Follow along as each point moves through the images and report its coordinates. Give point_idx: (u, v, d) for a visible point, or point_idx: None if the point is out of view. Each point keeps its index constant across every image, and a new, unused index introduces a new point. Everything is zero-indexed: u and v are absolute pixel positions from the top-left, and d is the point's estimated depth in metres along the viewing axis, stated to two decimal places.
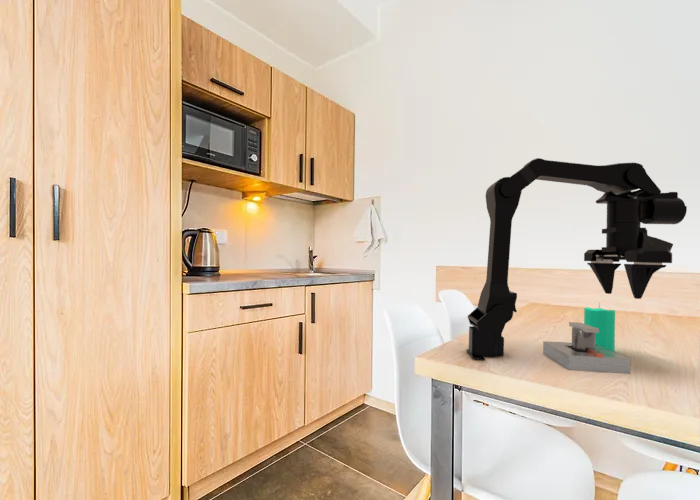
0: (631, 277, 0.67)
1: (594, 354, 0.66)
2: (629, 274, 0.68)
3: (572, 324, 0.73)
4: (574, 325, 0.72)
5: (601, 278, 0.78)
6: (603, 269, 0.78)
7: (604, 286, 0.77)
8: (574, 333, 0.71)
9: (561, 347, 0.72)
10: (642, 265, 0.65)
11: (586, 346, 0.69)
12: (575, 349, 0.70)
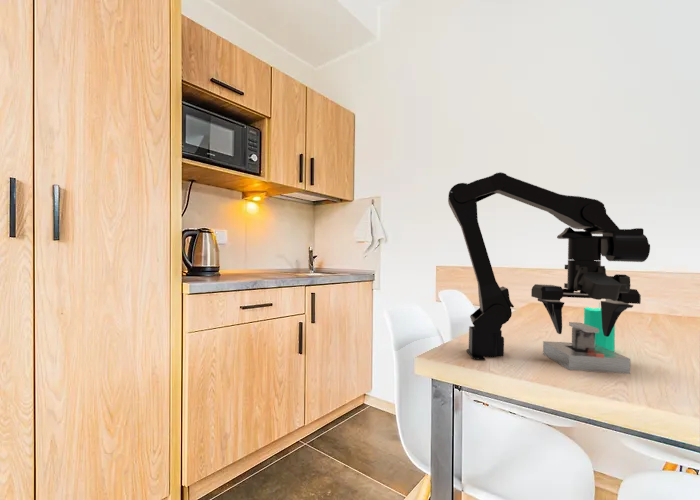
0: None
1: (594, 354, 0.66)
2: None
3: (572, 324, 0.73)
4: (574, 325, 0.72)
5: (602, 318, 0.72)
6: (605, 309, 0.71)
7: (602, 327, 0.71)
8: (574, 333, 0.71)
9: (561, 347, 0.72)
10: (539, 300, 0.73)
11: (586, 346, 0.69)
12: (575, 349, 0.70)
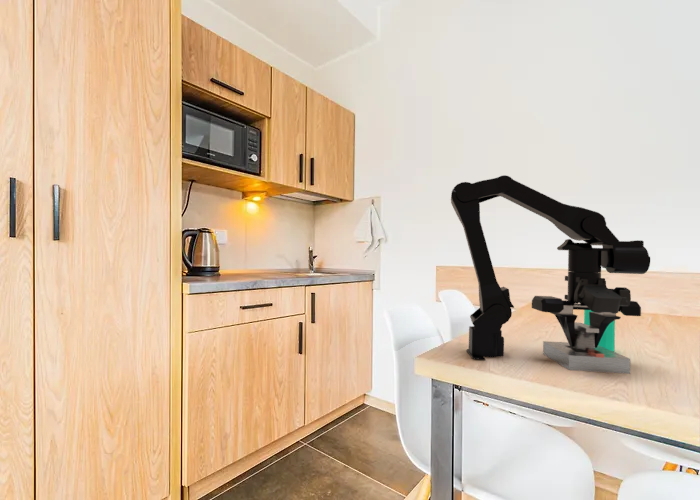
0: None
1: (594, 354, 0.66)
2: None
3: None
4: None
5: None
6: (593, 320, 0.71)
7: None
8: None
9: (561, 347, 0.72)
10: (551, 312, 0.73)
11: (586, 346, 0.69)
12: (575, 349, 0.70)
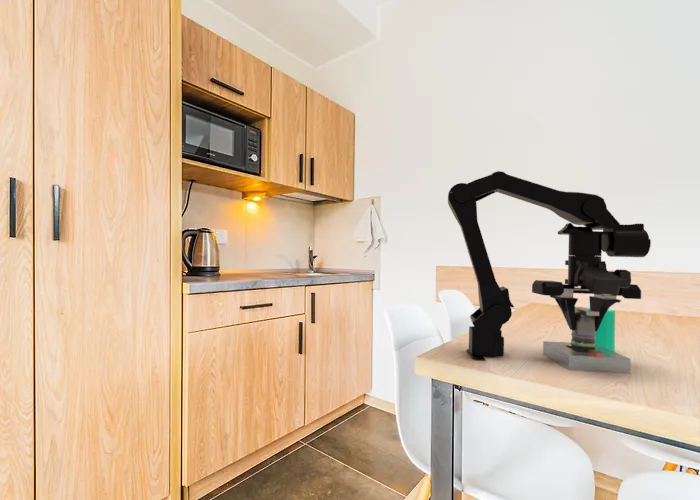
0: None
1: (594, 354, 0.66)
2: None
3: None
4: None
5: None
6: (594, 304, 0.71)
7: None
8: None
9: (561, 347, 0.72)
10: (551, 296, 0.73)
11: (586, 329, 0.69)
12: (575, 333, 0.70)
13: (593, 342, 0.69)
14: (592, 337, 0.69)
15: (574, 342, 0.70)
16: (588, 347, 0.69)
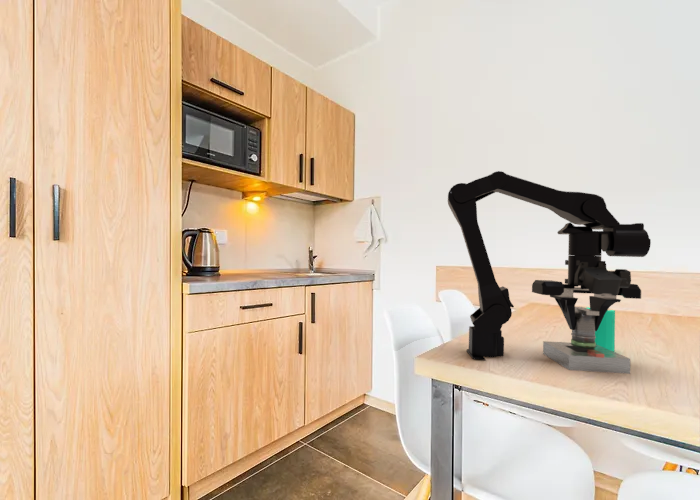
0: None
1: (594, 354, 0.66)
2: None
3: None
4: None
5: None
6: (594, 303, 0.71)
7: None
8: None
9: (561, 347, 0.72)
10: (551, 296, 0.73)
11: (586, 329, 0.69)
12: (575, 332, 0.70)
13: (593, 342, 0.69)
14: (592, 337, 0.69)
15: (574, 342, 0.70)
16: (588, 347, 0.69)
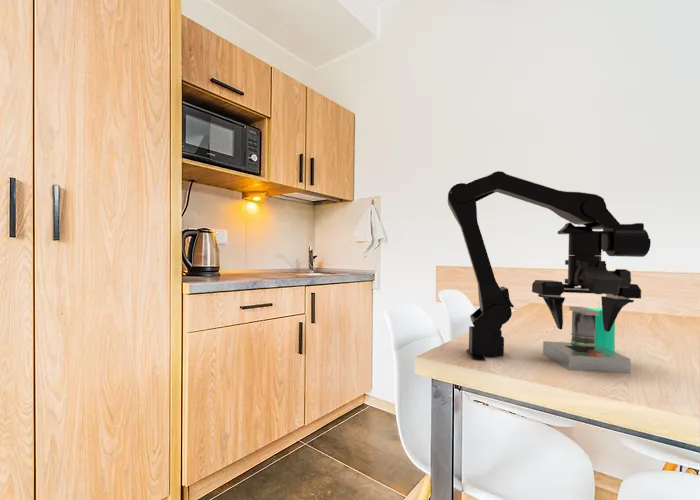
0: None
1: (594, 354, 0.66)
2: None
3: (572, 308, 0.73)
4: (574, 309, 0.72)
5: (603, 313, 0.72)
6: (606, 304, 0.71)
7: (603, 322, 0.71)
8: (574, 316, 0.71)
9: (561, 347, 0.72)
10: (540, 295, 0.73)
11: (586, 329, 0.69)
12: (575, 332, 0.70)
13: (593, 342, 0.69)
14: (592, 337, 0.69)
15: (574, 342, 0.70)
16: (588, 347, 0.69)
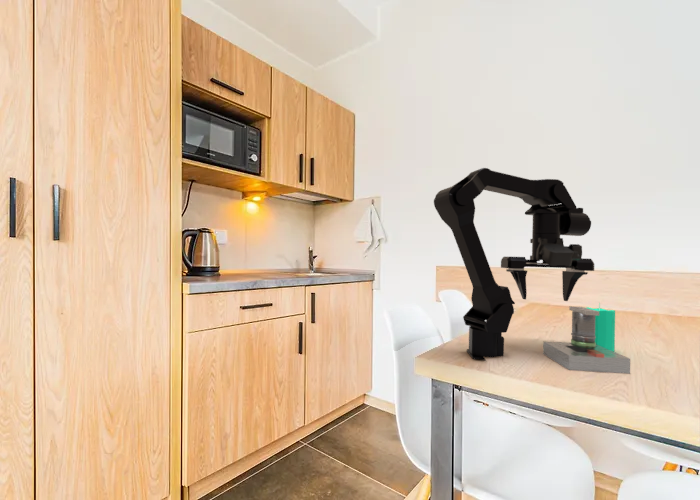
0: None
1: (594, 354, 0.66)
2: None
3: (572, 308, 0.73)
4: (574, 309, 0.72)
5: (563, 285, 0.81)
6: (565, 277, 0.80)
7: (563, 293, 0.80)
8: (574, 316, 0.71)
9: (561, 347, 0.72)
10: (507, 270, 0.83)
11: (586, 329, 0.69)
12: (575, 332, 0.70)
13: (593, 342, 0.69)
14: (592, 337, 0.69)
15: (574, 342, 0.70)
16: (588, 347, 0.69)
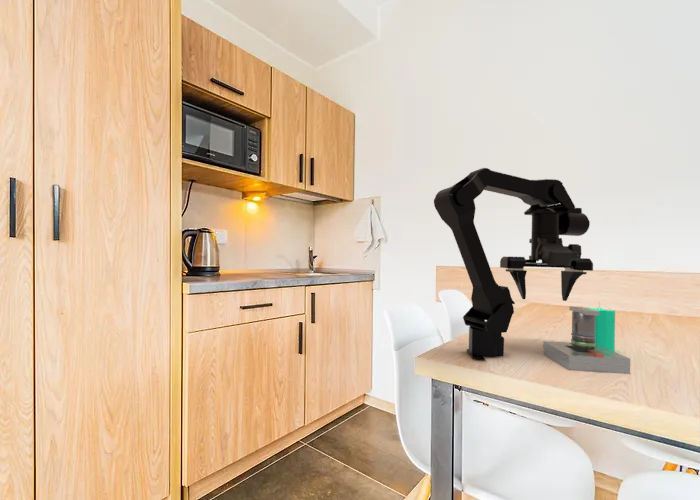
0: None
1: (594, 354, 0.66)
2: None
3: (572, 308, 0.73)
4: (574, 309, 0.72)
5: (561, 285, 0.81)
6: (564, 277, 0.81)
7: (562, 293, 0.81)
8: (574, 316, 0.71)
9: (561, 347, 0.72)
10: (506, 270, 0.83)
11: (586, 329, 0.69)
12: (575, 332, 0.70)
13: (593, 342, 0.69)
14: (592, 337, 0.69)
15: (574, 342, 0.70)
16: (588, 347, 0.69)
